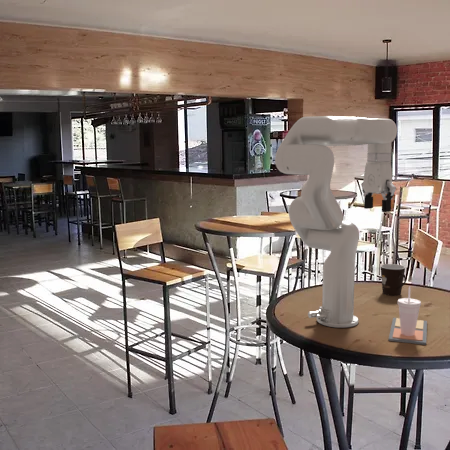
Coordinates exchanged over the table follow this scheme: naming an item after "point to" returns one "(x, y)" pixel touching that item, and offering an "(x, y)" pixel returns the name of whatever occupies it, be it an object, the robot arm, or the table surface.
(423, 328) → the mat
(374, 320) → the table surface
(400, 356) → the table surface
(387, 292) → the coffee mug
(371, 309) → the table surface
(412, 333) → the smoothie
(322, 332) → the table surface
